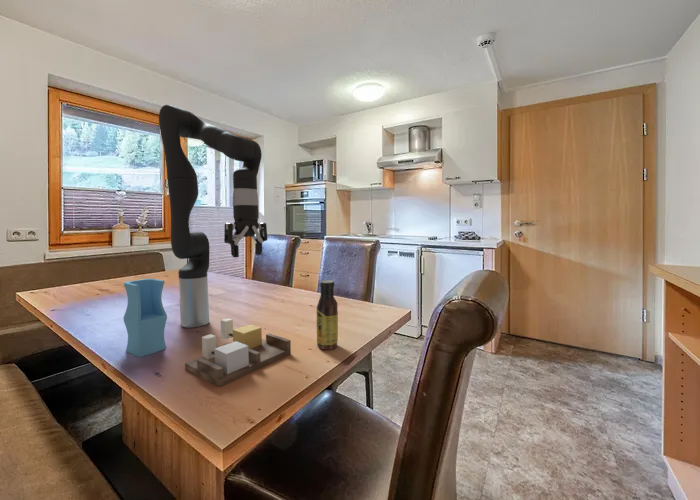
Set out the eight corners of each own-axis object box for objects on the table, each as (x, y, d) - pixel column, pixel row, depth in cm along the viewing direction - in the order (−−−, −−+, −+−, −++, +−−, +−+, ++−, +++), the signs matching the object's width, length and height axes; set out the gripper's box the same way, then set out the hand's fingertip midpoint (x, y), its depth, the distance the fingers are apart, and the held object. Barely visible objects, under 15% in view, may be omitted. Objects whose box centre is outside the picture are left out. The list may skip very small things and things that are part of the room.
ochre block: (215, 340, 96) (215, 321, 96) (233, 334, 101) (232, 316, 100) (244, 351, 88) (243, 330, 88) (261, 344, 93) (261, 325, 92)
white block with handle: (196, 359, 83) (195, 338, 83) (217, 351, 88) (216, 332, 87) (227, 374, 75) (226, 351, 75) (248, 365, 80) (248, 343, 79)
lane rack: (185, 368, 81) (184, 353, 81) (256, 342, 99) (256, 329, 99) (218, 386, 72) (218, 369, 72) (290, 353, 90) (290, 340, 90)
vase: (139, 357, 88) (135, 285, 86) (125, 351, 92) (121, 282, 90) (168, 347, 94) (164, 280, 93) (154, 342, 99) (150, 278, 97)
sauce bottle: (316, 342, 98) (316, 278, 96) (337, 342, 99) (337, 278, 97) (316, 351, 92) (315, 283, 90) (338, 350, 92) (338, 282, 90)
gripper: (256, 205, 108) (258, 253, 109) (218, 203, 96) (220, 257, 98) (271, 204, 104) (272, 254, 105) (232, 203, 92) (234, 259, 94)
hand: (247, 255), depth 102 cm, fingers open, 8 cm apart
